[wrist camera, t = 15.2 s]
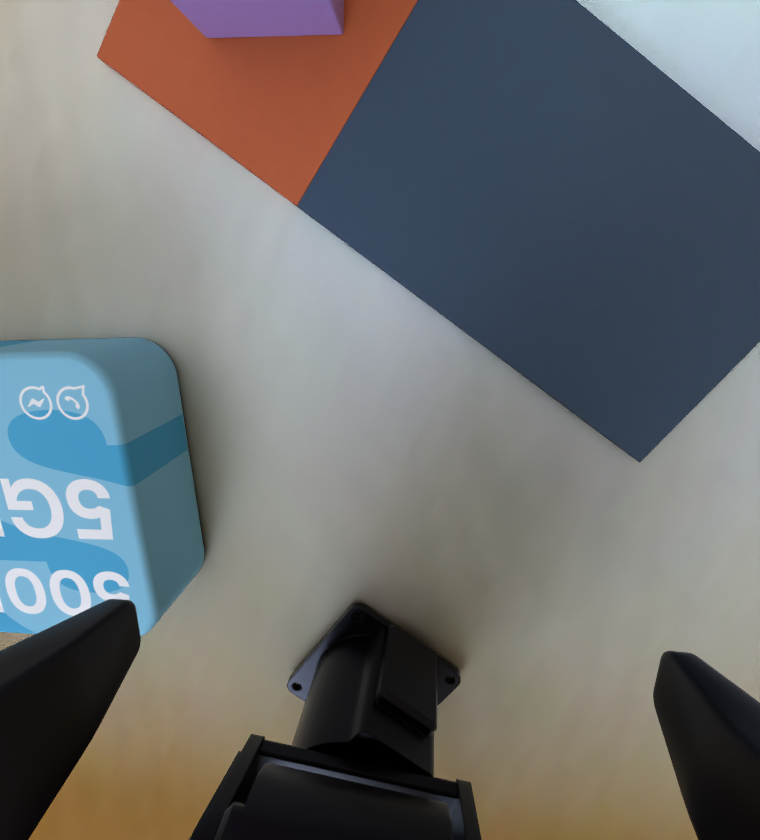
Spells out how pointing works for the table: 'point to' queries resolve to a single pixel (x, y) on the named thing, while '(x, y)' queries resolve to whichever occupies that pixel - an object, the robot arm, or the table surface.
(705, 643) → the table surface
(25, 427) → the data package
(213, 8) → the block
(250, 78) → the mat
